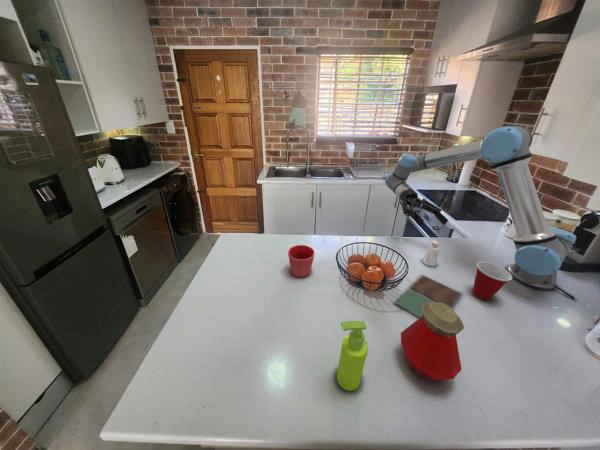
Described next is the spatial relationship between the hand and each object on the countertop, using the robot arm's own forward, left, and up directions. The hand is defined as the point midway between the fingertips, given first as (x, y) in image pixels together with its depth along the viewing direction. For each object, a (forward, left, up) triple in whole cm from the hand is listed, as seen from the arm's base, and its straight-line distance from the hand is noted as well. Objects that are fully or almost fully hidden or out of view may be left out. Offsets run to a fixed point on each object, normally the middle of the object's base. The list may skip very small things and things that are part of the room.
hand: (434, 222), depth 106 cm
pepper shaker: (-3, +1, -19) cm, 19 cm away
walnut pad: (-12, +19, -19) cm, 29 cm away
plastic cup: (-25, +7, -19) cm, 32 cm away
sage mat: (-12, +31, -19) cm, 38 cm away
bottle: (-21, +52, -19) cm, 60 cm away
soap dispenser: (-9, +71, -19) cm, 74 cm away
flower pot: (+31, +49, -19) cm, 61 cm away
